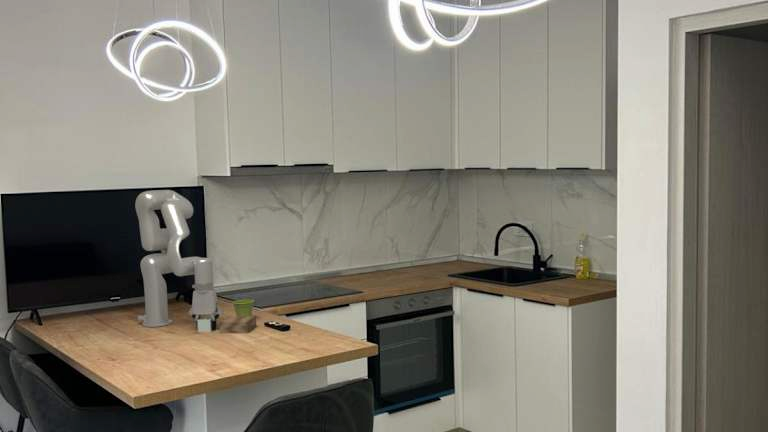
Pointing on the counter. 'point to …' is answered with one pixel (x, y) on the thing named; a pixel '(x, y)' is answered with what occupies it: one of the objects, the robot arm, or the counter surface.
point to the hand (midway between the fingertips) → (206, 329)
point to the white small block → (204, 324)
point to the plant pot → (243, 307)
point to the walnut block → (238, 324)
